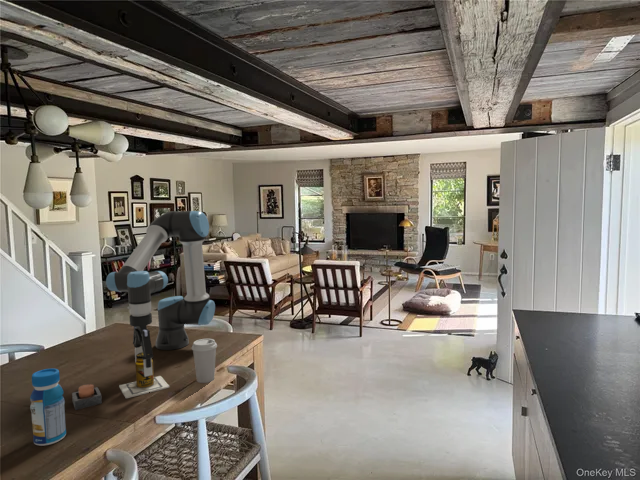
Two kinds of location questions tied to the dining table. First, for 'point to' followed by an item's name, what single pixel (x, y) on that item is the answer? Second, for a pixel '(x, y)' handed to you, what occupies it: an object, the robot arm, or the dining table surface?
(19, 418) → the dining table surface
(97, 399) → the button box
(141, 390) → the white rectangular plate
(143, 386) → the condiment
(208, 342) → the coffee cup
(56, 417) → the beverage bottle
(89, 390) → the button
